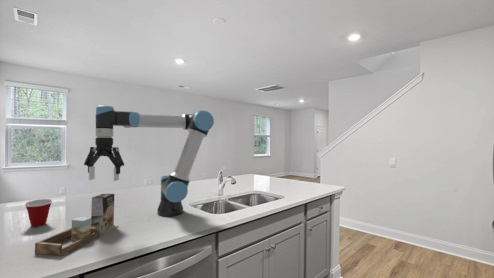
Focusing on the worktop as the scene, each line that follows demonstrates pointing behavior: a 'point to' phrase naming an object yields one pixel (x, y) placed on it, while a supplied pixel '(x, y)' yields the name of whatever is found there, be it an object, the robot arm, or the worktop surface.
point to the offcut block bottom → (79, 236)
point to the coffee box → (102, 211)
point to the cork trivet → (109, 229)
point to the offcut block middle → (81, 230)
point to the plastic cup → (38, 211)
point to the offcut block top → (81, 222)
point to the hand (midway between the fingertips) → (103, 180)
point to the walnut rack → (52, 243)
